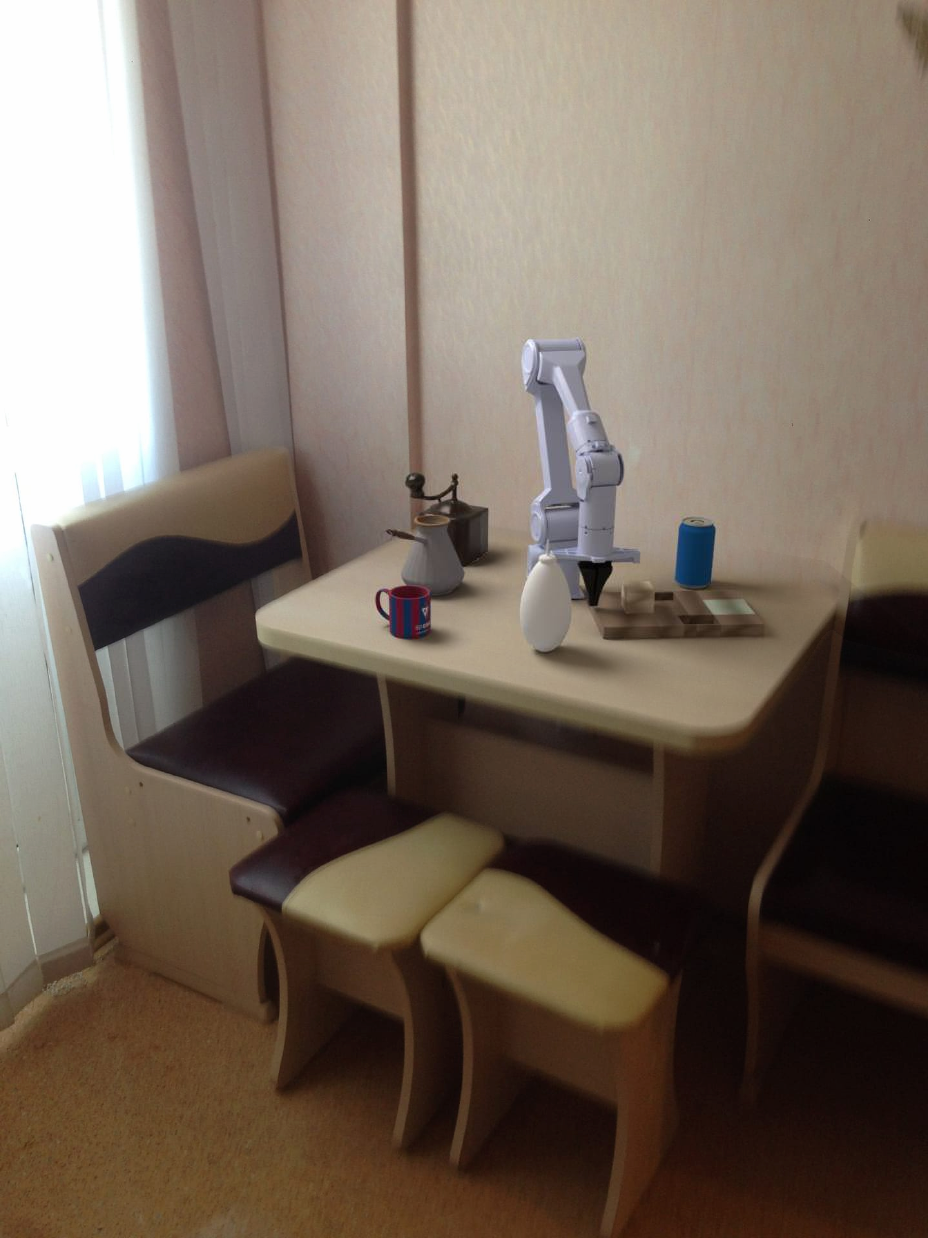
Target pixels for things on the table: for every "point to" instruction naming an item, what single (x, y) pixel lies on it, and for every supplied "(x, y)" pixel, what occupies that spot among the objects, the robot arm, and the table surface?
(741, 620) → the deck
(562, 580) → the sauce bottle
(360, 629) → the table surface
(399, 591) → the mug
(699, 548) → the beverage can
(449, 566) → the coffee pot
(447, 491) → the coffee grinder
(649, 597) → the block
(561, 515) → the robot arm
